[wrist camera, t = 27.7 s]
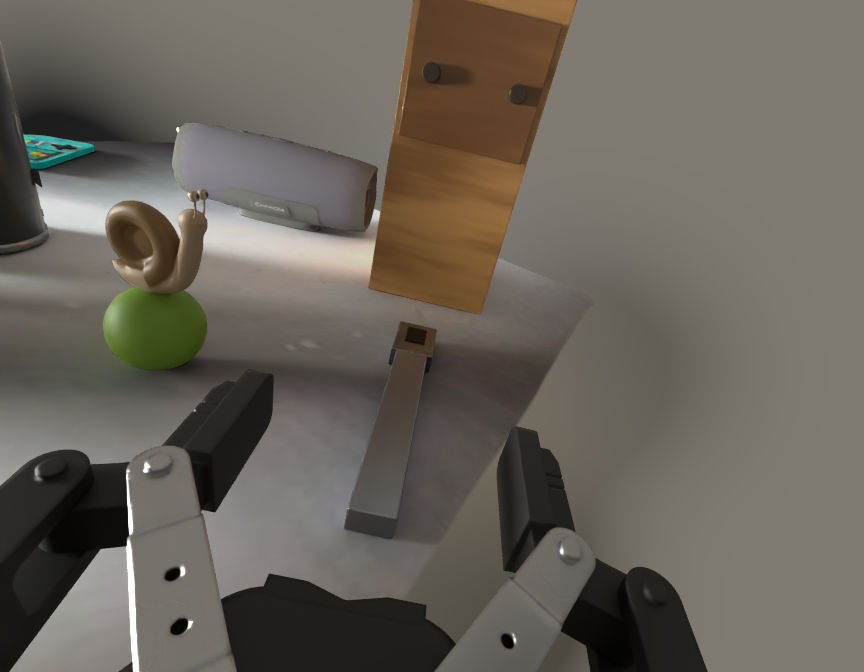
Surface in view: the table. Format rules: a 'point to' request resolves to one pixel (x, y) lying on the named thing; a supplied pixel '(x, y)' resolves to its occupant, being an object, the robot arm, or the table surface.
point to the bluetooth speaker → (275, 178)
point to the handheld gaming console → (53, 150)
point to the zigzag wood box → (462, 142)
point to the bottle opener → (391, 435)
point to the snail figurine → (156, 285)
